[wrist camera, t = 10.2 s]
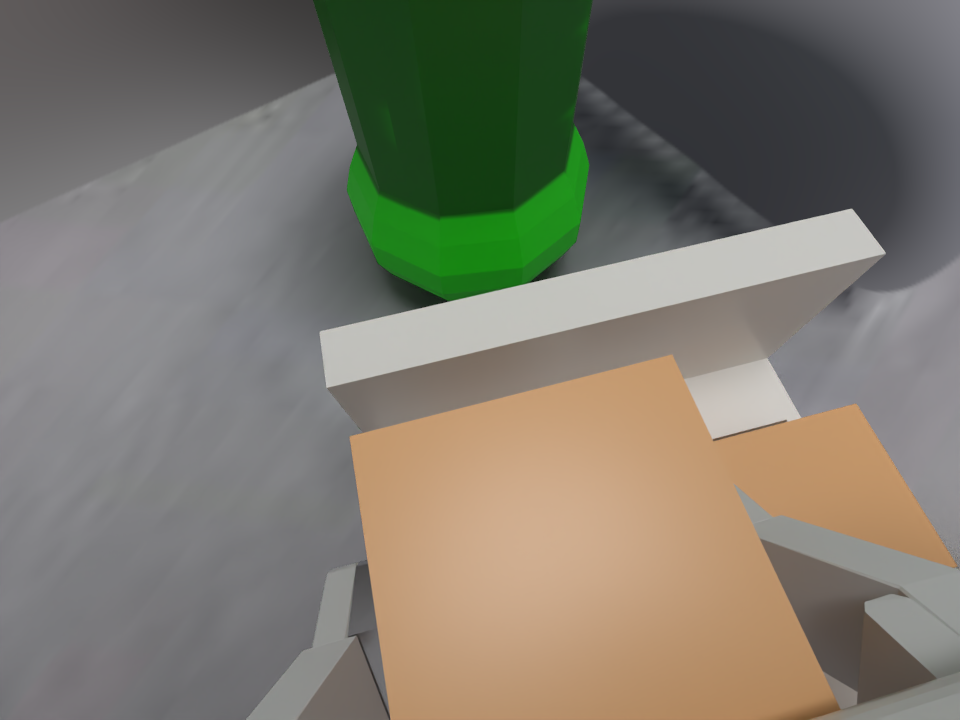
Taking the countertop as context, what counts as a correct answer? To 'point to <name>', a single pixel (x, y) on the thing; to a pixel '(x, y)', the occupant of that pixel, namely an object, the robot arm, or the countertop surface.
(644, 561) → the tall cardboard carton
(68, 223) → the countertop surface
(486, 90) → the plastic bottle
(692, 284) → the housing
